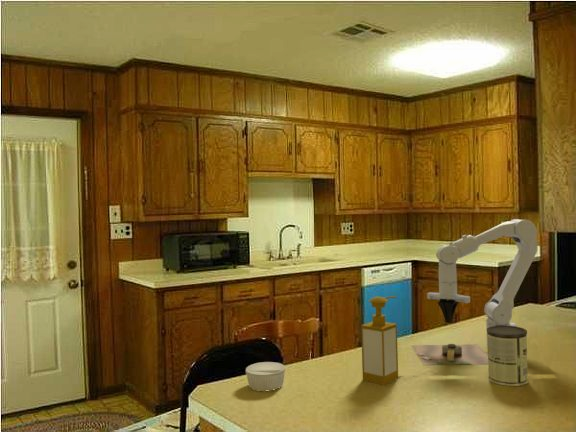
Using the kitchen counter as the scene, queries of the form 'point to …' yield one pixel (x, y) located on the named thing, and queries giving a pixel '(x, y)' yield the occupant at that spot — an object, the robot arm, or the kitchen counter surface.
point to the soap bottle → (379, 347)
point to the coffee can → (507, 355)
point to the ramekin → (265, 375)
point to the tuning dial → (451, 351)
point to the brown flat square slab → (469, 356)
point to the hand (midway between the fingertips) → (448, 322)
